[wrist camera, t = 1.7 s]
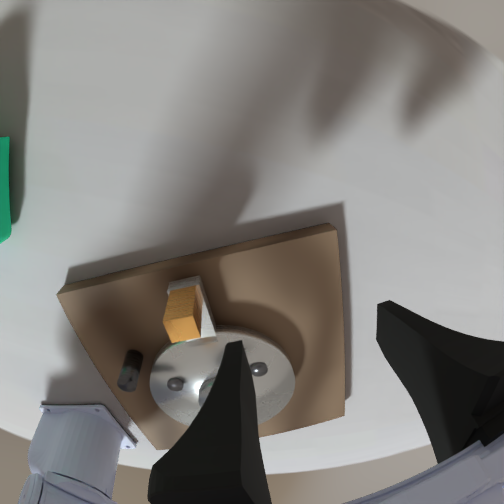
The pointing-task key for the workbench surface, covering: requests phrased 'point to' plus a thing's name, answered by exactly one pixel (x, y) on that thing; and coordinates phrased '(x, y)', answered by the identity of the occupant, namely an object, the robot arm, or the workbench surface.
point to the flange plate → (212, 357)
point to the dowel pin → (130, 371)
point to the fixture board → (225, 321)
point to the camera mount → (4, 190)
